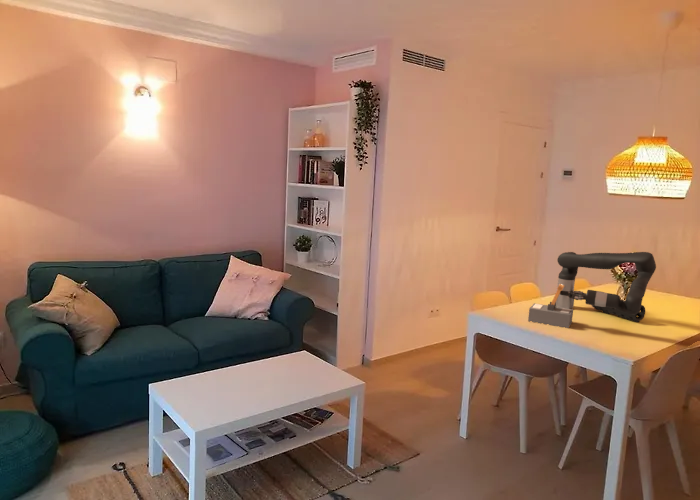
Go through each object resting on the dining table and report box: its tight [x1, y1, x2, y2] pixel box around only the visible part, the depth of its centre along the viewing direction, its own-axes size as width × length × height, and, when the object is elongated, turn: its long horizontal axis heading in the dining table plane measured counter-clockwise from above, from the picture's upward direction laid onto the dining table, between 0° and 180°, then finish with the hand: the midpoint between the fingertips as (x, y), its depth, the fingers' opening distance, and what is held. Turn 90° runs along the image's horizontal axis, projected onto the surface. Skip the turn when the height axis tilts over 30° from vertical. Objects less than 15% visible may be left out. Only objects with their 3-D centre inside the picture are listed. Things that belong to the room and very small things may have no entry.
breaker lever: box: [551, 284, 564, 305], centre depth 273 cm, size 2×5×13 cm, turn 151°
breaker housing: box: [527, 301, 574, 329], centre depth 275 cm, size 20×14×10 cm
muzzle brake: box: [591, 299, 646, 323], centre depth 295 cm, size 10×28×10 cm, turn 27°
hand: (560, 292), depth 271 cm, fingers closed
